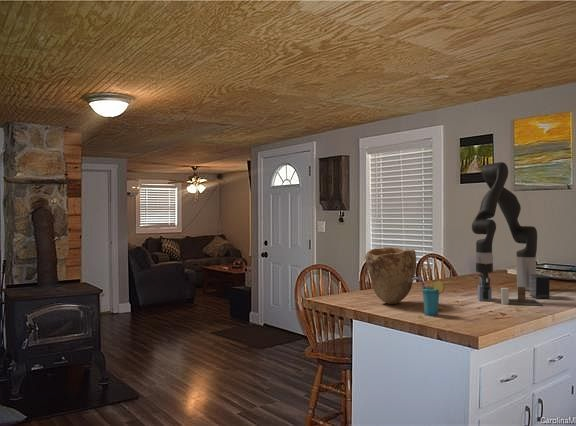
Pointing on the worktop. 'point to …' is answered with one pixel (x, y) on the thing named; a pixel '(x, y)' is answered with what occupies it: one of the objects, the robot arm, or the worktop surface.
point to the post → (504, 296)
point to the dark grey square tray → (523, 299)
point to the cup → (431, 297)
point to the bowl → (391, 272)
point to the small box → (539, 286)
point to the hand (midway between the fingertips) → (484, 297)
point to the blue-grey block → (480, 293)
